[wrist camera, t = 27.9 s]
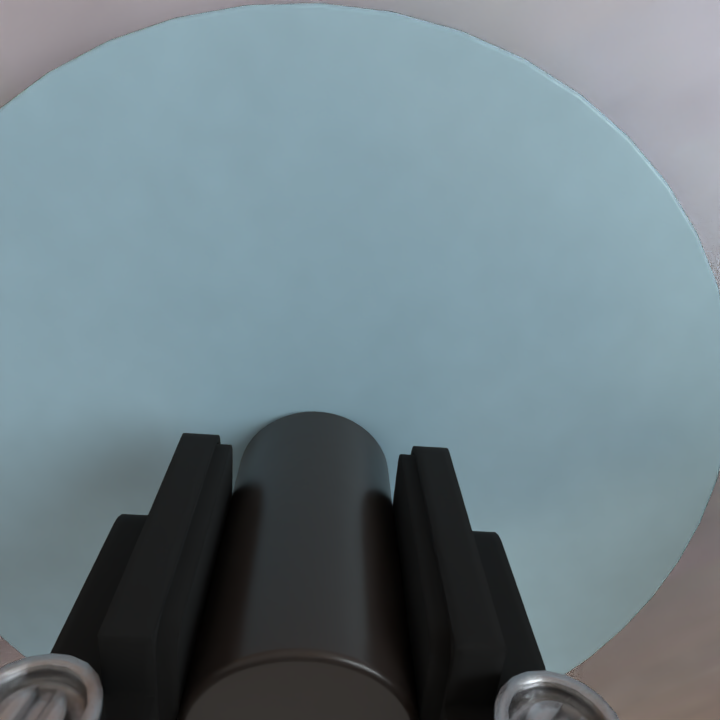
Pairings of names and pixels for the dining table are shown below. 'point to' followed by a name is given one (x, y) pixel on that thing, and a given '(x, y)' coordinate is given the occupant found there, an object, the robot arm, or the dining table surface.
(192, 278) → the lid
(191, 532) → the robot arm
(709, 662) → the dining table surface
